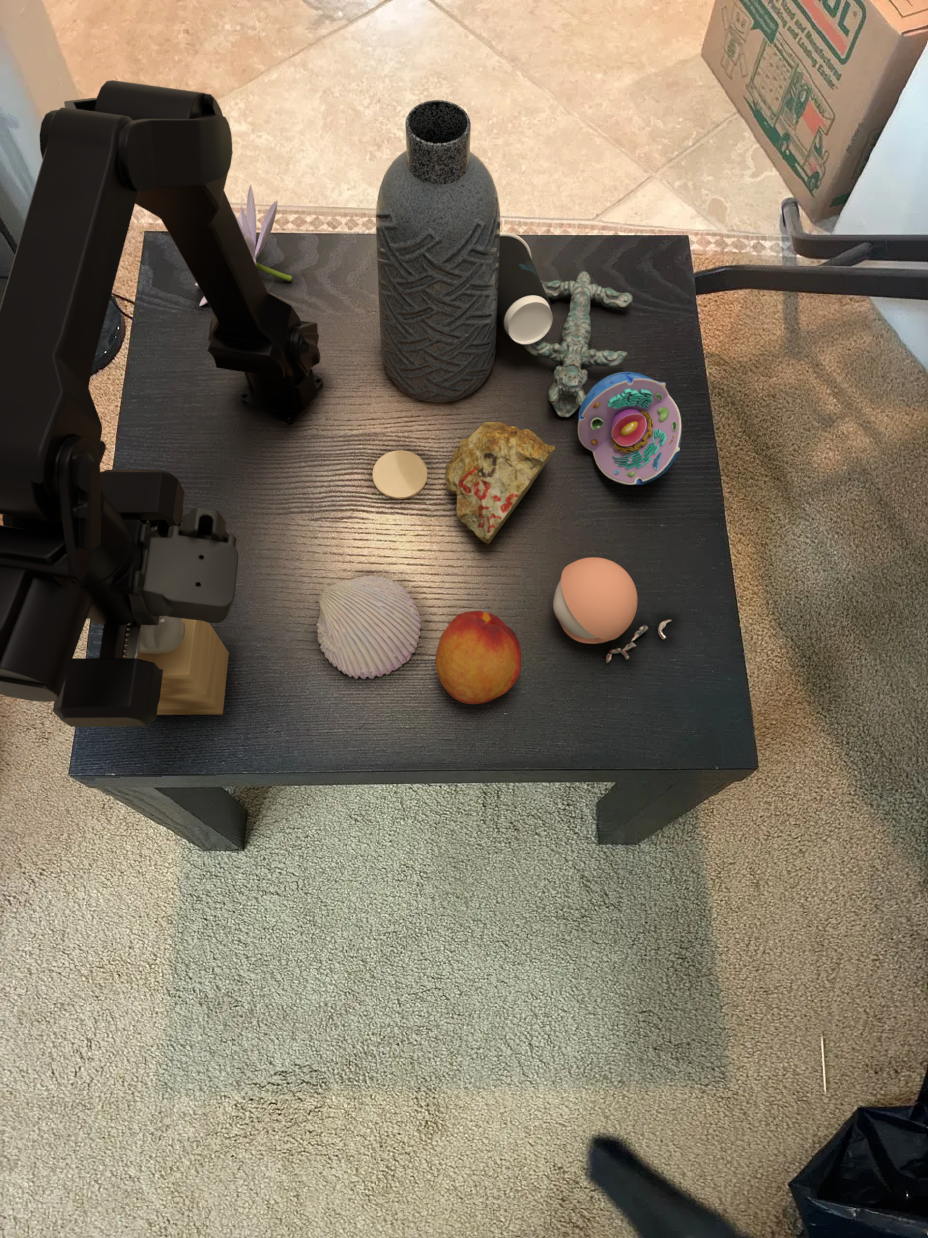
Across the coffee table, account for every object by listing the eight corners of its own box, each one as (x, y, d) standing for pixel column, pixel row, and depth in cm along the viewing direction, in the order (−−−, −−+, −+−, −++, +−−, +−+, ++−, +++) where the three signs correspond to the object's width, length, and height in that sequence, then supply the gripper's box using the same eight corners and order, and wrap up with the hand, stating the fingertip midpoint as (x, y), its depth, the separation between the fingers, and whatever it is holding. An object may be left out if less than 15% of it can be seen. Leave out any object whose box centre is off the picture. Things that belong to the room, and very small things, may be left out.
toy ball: (537, 588, 84) (546, 551, 77) (612, 571, 85) (629, 533, 78) (561, 664, 81) (573, 633, 74) (639, 645, 82) (658, 613, 75)
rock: (496, 548, 91) (498, 551, 81) (424, 507, 91) (417, 505, 81) (553, 449, 90) (562, 440, 80) (480, 407, 90) (480, 393, 80)
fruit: (536, 667, 81) (546, 636, 74) (479, 730, 79) (484, 704, 72) (473, 615, 83) (476, 580, 76) (415, 675, 81) (413, 644, 73)
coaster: (362, 484, 88) (361, 481, 88) (390, 443, 90) (390, 441, 90) (409, 508, 87) (409, 506, 87) (437, 467, 89) (437, 464, 89)
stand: (156, 715, 79) (111, 674, 68) (164, 652, 81) (122, 603, 70) (223, 714, 79) (189, 674, 68) (229, 652, 81) (197, 603, 70)
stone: (116, 660, 69) (100, 643, 65) (123, 617, 70) (107, 599, 67) (188, 659, 69) (175, 643, 65) (193, 617, 70) (180, 599, 67)
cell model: (633, 520, 88) (582, 477, 81) (596, 440, 95) (547, 395, 88) (719, 462, 84) (673, 411, 77) (674, 383, 90) (628, 330, 84)
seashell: (347, 542, 82) (433, 583, 79) (361, 573, 87) (443, 613, 83) (281, 625, 79) (369, 673, 75) (300, 653, 83) (383, 699, 80)
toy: (680, 629, 82) (668, 611, 83) (612, 667, 80) (600, 647, 81) (675, 633, 84) (663, 615, 84) (608, 670, 81) (596, 651, 82)
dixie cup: (497, 366, 91) (466, 308, 98) (568, 344, 92) (533, 288, 98) (489, 300, 85) (457, 243, 91) (566, 277, 85) (528, 222, 92)
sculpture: (508, 416, 91) (513, 381, 87) (531, 291, 101) (536, 254, 97) (615, 432, 91) (625, 398, 87) (628, 305, 100) (637, 269, 96)
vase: (412, 299, 97) (402, 50, 71) (512, 337, 96) (539, 97, 69) (362, 379, 93) (332, 146, 67) (465, 421, 91) (476, 199, 65)
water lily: (312, 200, 99) (242, 153, 94) (336, 255, 90) (259, 206, 84) (249, 305, 106) (180, 266, 100) (264, 367, 96) (188, 328, 91)
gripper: (198, 688, 51) (251, 751, 65) (227, 420, 58) (269, 531, 72) (5, 689, 51) (101, 752, 65) (58, 420, 58) (134, 531, 72)
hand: (158, 636), depth 69 cm, fingers open, 9 cm apart
